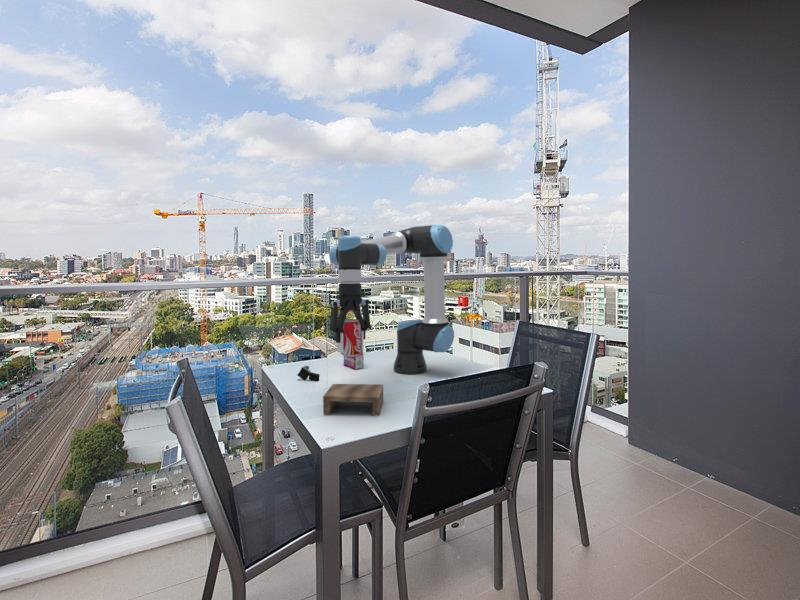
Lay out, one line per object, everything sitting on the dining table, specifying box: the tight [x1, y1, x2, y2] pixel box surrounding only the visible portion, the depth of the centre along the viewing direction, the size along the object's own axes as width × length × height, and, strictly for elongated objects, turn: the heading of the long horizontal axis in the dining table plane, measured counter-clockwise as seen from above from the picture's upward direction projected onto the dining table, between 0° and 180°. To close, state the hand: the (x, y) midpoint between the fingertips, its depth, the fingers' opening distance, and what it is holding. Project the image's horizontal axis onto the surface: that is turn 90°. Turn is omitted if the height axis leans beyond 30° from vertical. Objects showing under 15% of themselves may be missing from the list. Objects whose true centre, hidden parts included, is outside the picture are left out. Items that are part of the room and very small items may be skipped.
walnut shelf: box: [322, 383, 384, 417], centre depth 137 cm, size 18×14×6 cm
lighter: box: [296, 365, 321, 382], centre depth 171 cm, size 9×2×6 cm
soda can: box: [340, 318, 361, 357], centre depth 137 cm, size 7×7×12 cm
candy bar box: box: [343, 350, 365, 371], centre depth 192 cm, size 11×5×16 cm, turn 37°
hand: (350, 350), depth 137 cm, fingers closed on soda can, 7 cm apart
